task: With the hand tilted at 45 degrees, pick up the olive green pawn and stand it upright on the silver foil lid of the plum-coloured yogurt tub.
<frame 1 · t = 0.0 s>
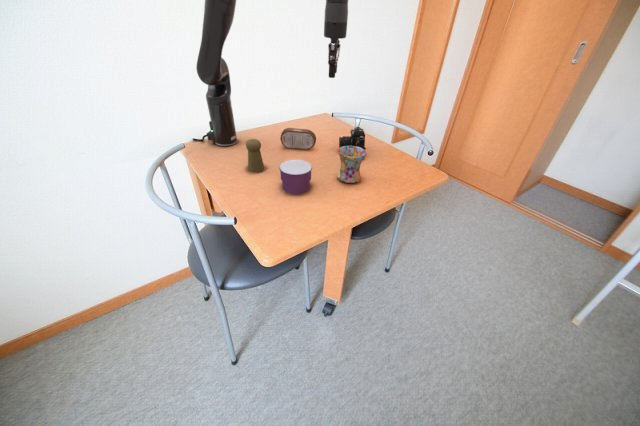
hand: (332, 75, 98), 29 cm above the table, tool pointing down, fingers open, 8 cm apart
tin: (298, 148, 117), on the table
yogurt tub: (296, 186, 91), on the table
film camera: (351, 152, 116), on the table
olive green pawn: (256, 169, 101), on the table
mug: (347, 177, 98), on the table
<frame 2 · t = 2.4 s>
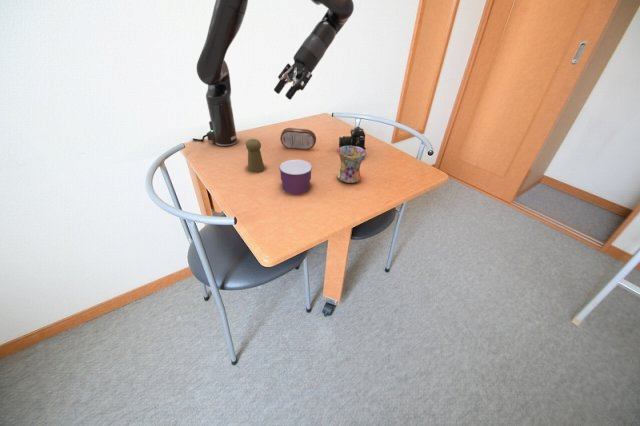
hand: (281, 94, 91), 25 cm above the table, tool tilted 45°, fingers open, 8 cm apart
nothing on the table moved.
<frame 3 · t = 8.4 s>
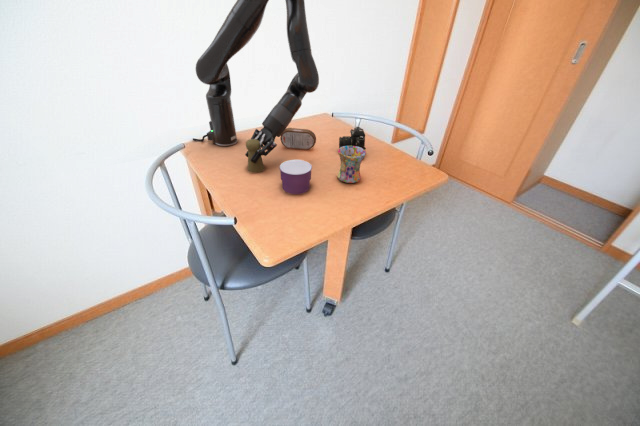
hand: (249, 159, 97), 4 cm above the table, tool tilted 45°, fingers closed on olive green pawn, 4 cm apart
olive green pawn: (256, 169, 101), on the table, touching gripper
everything else where it was.
when the fingers open (12 cm above the table, at t = 16.3 s): olive green pawn stays where it is, resting on yogurt tub.
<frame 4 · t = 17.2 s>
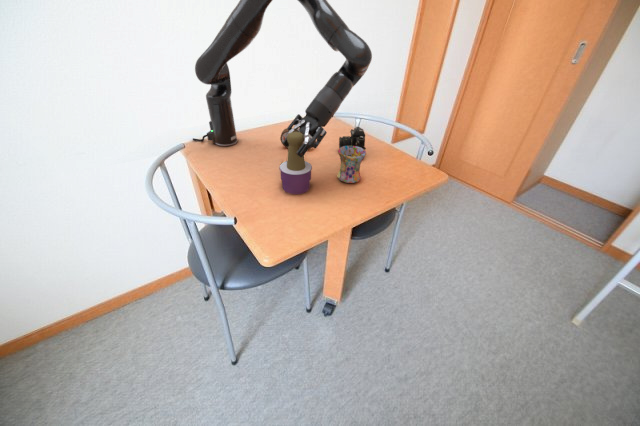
hand: (291, 150, 83), 13 cm above the table, tool tilted 45°, fingers open, 8 cm apart
yogurt tub: (296, 186, 91), on the table, touching olive green pawn
olive green pawn: (296, 166, 87), point 7 cm above the table, touching yogurt tub
everything else where it was.
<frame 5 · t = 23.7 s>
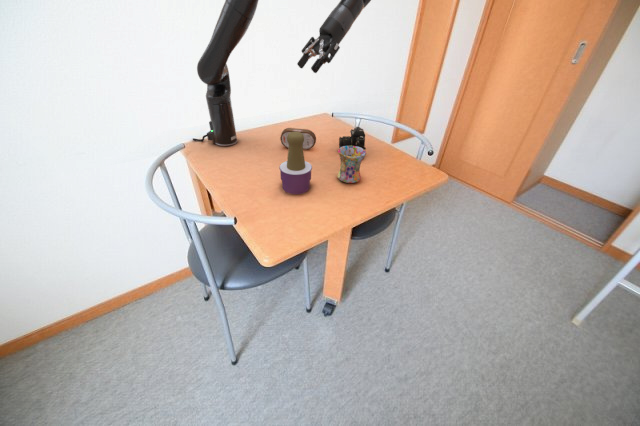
hand: (306, 68, 88), 33 cm above the table, tool tilted 45°, fingers open, 8 cm apart
nothing on the table moved.
at the end: olive green pawn 0.2 cm off-centre on the yogurt tub, point 7.4 cm above the yogurt tub's base; olive green pawn tilted 0°; the gripper is holding nothing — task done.
